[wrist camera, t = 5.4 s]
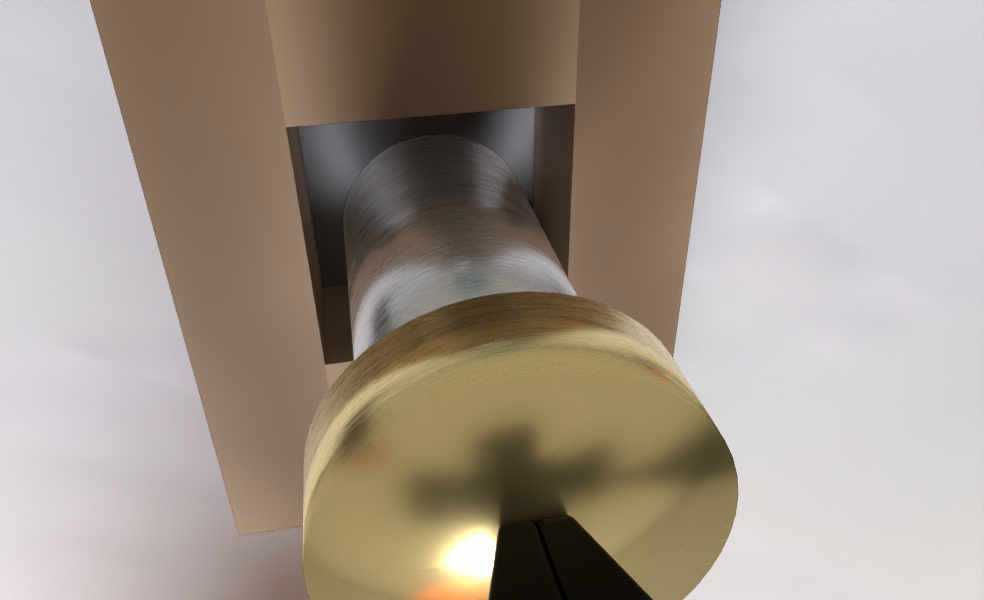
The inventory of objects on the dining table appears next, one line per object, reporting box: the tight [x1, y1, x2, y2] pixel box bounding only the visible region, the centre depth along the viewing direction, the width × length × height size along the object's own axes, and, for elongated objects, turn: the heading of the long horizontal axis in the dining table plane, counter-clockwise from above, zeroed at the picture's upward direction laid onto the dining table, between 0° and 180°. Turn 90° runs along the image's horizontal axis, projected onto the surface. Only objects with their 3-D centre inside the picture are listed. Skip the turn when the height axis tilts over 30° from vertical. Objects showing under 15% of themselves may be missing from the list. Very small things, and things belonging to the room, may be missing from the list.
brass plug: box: [303, 135, 738, 600], centre depth 12 cm, size 5×5×8 cm
